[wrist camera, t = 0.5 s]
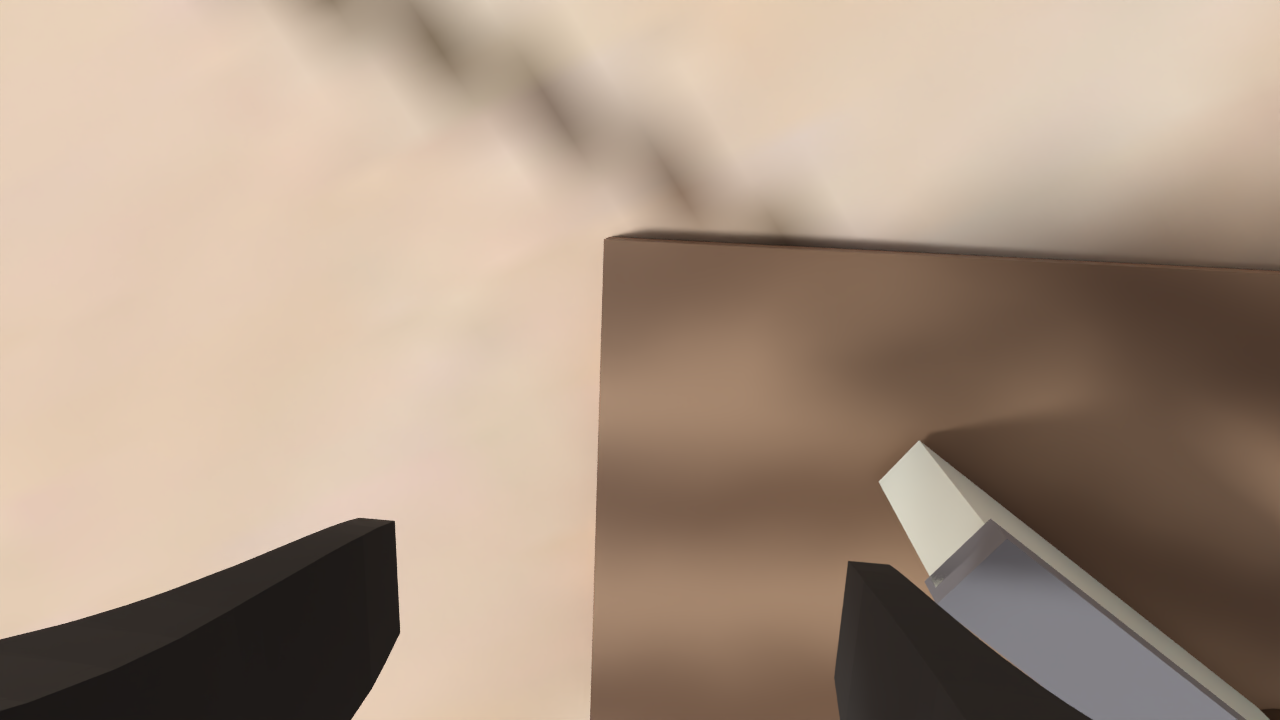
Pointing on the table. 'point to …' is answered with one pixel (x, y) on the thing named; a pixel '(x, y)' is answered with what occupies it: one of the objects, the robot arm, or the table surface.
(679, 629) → the brown wooden board
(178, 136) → the table surface
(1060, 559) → the panel
